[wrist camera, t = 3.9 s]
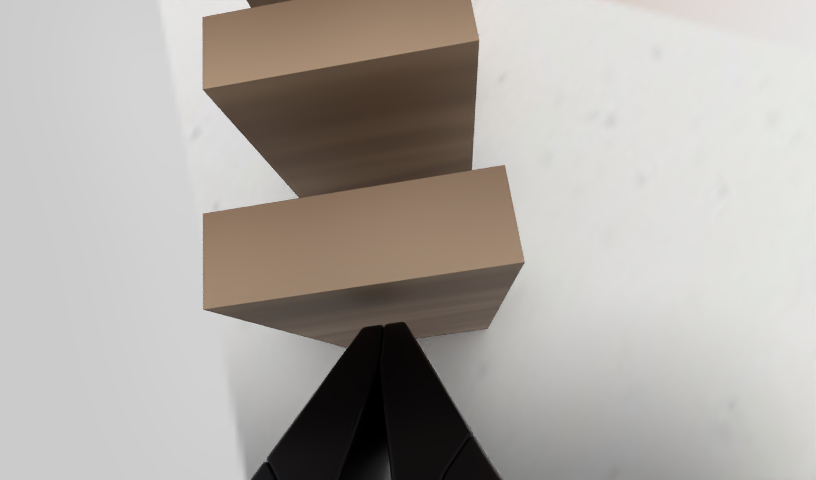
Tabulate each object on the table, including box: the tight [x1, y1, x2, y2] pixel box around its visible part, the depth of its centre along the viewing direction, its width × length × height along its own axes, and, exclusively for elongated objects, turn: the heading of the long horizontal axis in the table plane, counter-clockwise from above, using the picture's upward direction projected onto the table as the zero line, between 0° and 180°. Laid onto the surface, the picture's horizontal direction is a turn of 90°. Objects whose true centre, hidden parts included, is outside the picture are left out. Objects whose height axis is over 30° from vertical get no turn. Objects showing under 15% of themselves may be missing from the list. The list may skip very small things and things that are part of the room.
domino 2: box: [203, 165, 524, 348], centre depth 12 cm, size 2×5×10 cm, turn 98°
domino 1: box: [203, 0, 479, 198], centre depth 13 cm, size 2×5×10 cm, turn 97°
